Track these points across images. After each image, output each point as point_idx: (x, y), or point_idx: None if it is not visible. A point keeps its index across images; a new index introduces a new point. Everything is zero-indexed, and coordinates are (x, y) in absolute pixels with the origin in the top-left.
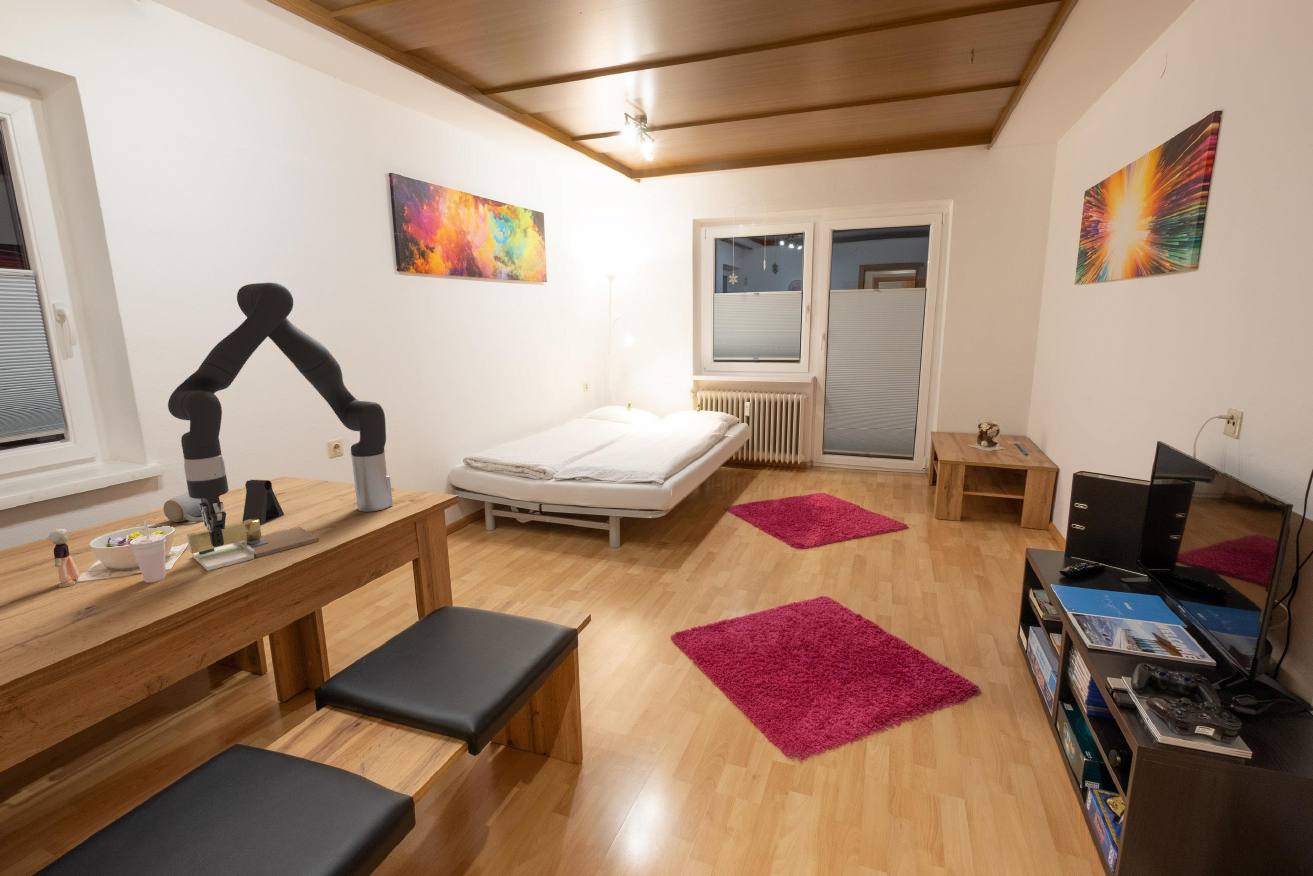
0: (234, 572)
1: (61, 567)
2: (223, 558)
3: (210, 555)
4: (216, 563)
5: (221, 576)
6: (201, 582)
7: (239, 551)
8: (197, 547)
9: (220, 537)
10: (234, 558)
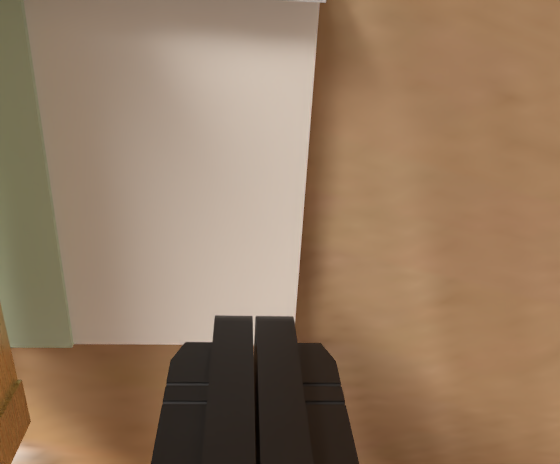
0: (503, 214)
1: None
2: (190, 218)
3: (24, 273)
4: (275, 285)
5: (491, 293)
6: (473, 389)
7: (86, 51)
8: (3, 423)
9: (341, 419)
10: (274, 154)
